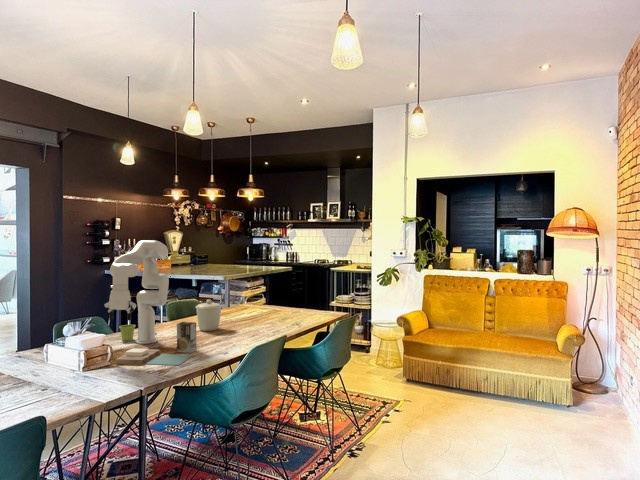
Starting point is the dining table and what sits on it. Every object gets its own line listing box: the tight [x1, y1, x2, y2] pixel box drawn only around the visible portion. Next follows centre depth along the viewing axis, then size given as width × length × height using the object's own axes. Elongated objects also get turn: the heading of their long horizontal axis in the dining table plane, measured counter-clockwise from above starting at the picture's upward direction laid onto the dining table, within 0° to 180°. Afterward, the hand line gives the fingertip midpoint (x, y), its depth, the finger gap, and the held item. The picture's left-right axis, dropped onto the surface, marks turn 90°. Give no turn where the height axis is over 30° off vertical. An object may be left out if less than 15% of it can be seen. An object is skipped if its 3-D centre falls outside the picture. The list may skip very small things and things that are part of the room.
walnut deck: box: [115, 348, 161, 366], centre depth 232 cm, size 20×14×2 cm
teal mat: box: [144, 353, 193, 367], centre depth 231 cm, size 18×18×1 cm
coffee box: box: [176, 321, 197, 354], centre depth 248 cm, size 9×6×16 cm
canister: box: [195, 299, 223, 332], centre depth 305 cm, size 18×18×21 cm
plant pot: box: [118, 324, 136, 342], centre depth 274 cm, size 9×9×9 cm
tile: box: [124, 348, 149, 356], centre depth 232 cm, size 7×9×2 cm
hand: (120, 319), depth 233 cm, fingers open, 9 cm apart
